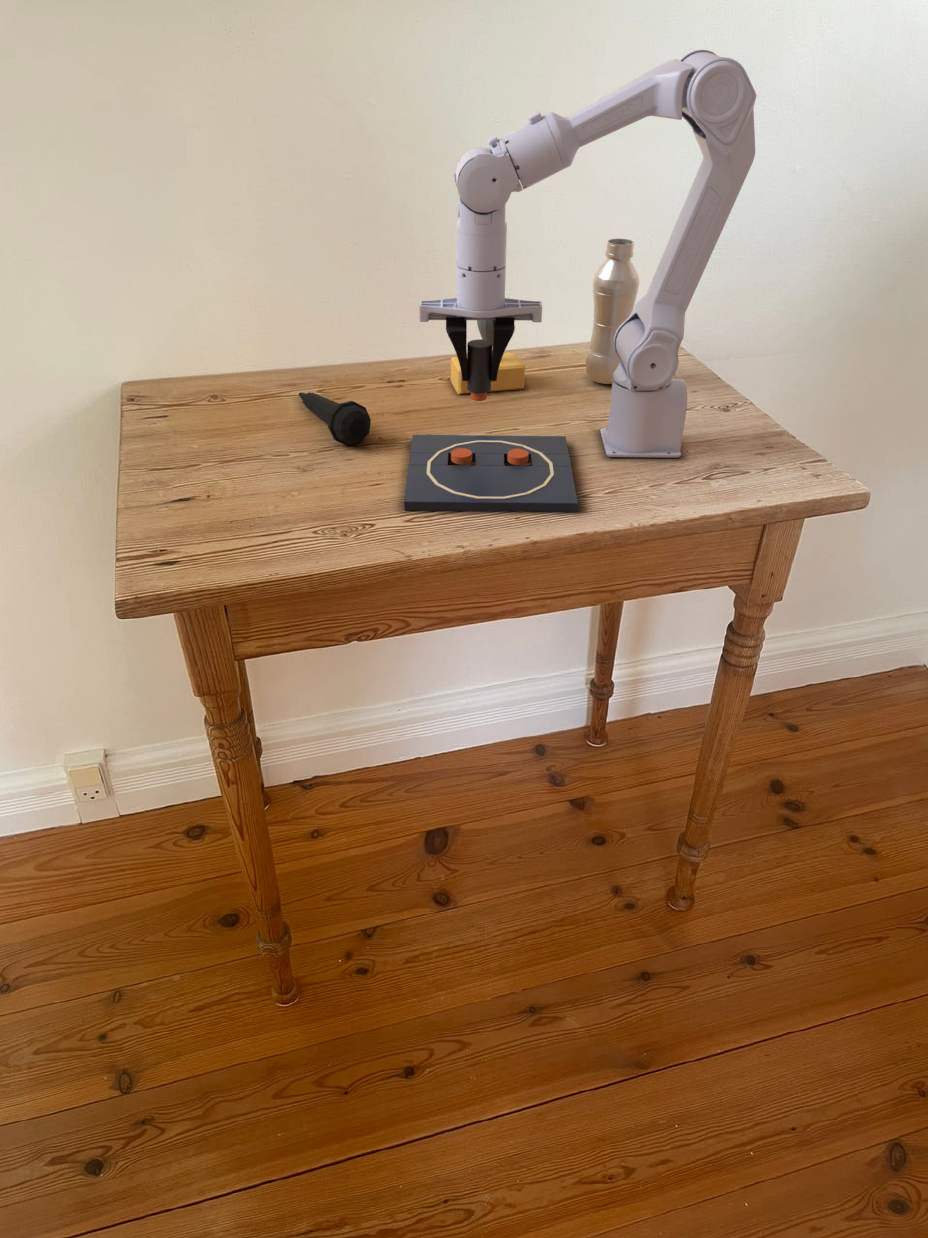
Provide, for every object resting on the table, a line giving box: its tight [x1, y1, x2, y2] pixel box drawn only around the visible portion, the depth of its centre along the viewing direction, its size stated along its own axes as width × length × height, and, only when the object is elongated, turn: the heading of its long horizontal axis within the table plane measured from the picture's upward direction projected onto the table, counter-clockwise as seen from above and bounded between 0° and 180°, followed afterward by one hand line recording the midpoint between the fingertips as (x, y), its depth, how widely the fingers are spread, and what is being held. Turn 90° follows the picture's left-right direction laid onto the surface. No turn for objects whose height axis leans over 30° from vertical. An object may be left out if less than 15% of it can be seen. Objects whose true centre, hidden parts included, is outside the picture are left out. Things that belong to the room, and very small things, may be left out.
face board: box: [403, 434, 579, 513], centre depth 113 cm, size 20×18×1 cm
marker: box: [466, 338, 493, 402], centre depth 114 cm, size 3×3×7 cm
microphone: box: [298, 391, 372, 447], centre depth 125 cm, size 6×6×20 cm
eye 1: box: [451, 448, 472, 465], centre depth 114 cm, size 3×3×1 cm
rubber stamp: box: [450, 320, 526, 395], centre depth 134 cm, size 10×6×12 cm, turn 103°
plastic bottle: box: [585, 238, 641, 385], centre depth 133 cm, size 6×7×20 cm
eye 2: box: [507, 449, 529, 466], centre depth 114 cm, size 3×3×1 cm
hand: (479, 377), depth 115 cm, fingers closed on marker, 3 cm apart
